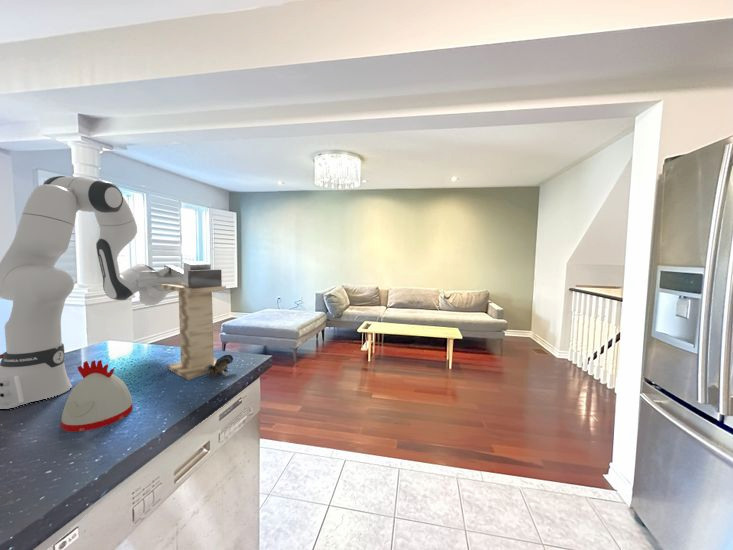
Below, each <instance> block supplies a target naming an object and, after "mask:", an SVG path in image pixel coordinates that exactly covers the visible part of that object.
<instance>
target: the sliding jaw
mask: <svg viewBox="0 0 733 550" xmlns="http://www.w3.org/2000/svg"><path fill="white" fill-rule="evenodd" d="M211 266H212V264H211V263H209V262H206V261H183V269H182V268H181V269H179V268H178V267H179V266H175V265H173V264H164V268H165V267H169V268H170V272H169V274H171V275H173V276H175V277H177V278H179V279H182V280H183V284H184V285H186V286H188V270H212V269H211V268H212V267H211ZM164 268H163V269H164Z"/></svg>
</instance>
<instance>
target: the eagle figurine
mask: <svg viewBox="0 0 733 550" xmlns="http://www.w3.org/2000/svg"><path fill="white" fill-rule="evenodd" d="M216 359H217V361H216V363H215V366H213V365H211V364H210V365H207V366H206V367H205V371H211V370H212V372H211V373H208V374H209V375H212V377H211V378H212V380H214V379H215V378H216V377H217V374H221V375H222V374H223V375H224V376H226V375H227V374H226V371H228V369H227V368H223V367H224V366H226V365H227V366H228V365H230V364H232V363H233V361H234V357H233V356H232V355H231V354H225V355H222V356H221V357H219V358H216Z"/></svg>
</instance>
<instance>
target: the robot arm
mask: <svg viewBox="0 0 733 550" xmlns="http://www.w3.org/2000/svg"><path fill="white" fill-rule="evenodd" d="M78 211H81V212H87V213H88V212H89V213H94V216H95V219H96V221H97V223H98V226H99V227H98V228H99V237H98V240H97V241H96V243H95V245H96V246H95V247H96V253H97V259H98V263H99V266H100V271H101V275H102V276H101V277H102V288H103V291H104V293H105V294H106V296H107V297H108V298H110V299H111V300H115V301H126V300H127V299H129V298H130V297H132V296H133V295H135V294H136V293H137V292H138V293H139V297H138V299H139V301H140V303H141V304H143V305H145V306H155V305H158V304H159V303H161V302H162V301H163V300H164V299H166V297H167V296H168V294H171V293H173V292H175V291H173V290H168V289H163V288H160V284H170V283H183V280H182V279H179V278H177V277H175V276H173V275H171V274H169V272H170V268H169V267H165V268H163V269H159V270H155V269H154V268H153V267H151V266H149V265H147V264H143V263H137V264H136V265H133V266H131V267H130V268H128V269H126V270H124V271H122V272H120V268H119V263H118V256H119V254H120V253H121V251H122V250H123V249H124V248H125V247H126V246H127V245H128V244H130V243H131V242H132V241H133V240H134V239H135V237H136V235H137V234H138V227H137V223H136V220H135V218H134V214H133V212H132V209H131V208H130V206H129V204H128V202H127V200H126V199H125V197H124V196H123V193H122V191H121V190H120V188H119V187H118V186H117V185H115V184H114V183H112V182H109V181H106V180H103V179H102V180H101V179H93V178H86V177H82V176H66V175H65V176H64V175H59V176H52V177H48V178H47V179H46V180H45V181H44V182H43V184H40V185H38V186H36V187H35V188H34V189H33V190H32V191H31V193H30V195H29V197H28V198H27V201H26V203H25V205H24V207H23V210H22V214H21V216H20V219H19V223H18V226H17V229H16V232H15V234H14V238H13V240H12V242H11V244H10V246H9V247H8V250H7V251H6V253H4V255H3V257H2V259H1V260H0V298H1V299H4V300H7V301H12V308H11V312H10V314H9V315H10V316H9V319H8V321H6V322H5V324H4V335H5V348H6V351H5V352H3V353H1V354H0V359H1V360H0V407H2V408H11V407H15V406H18V405H22V404H24V403H29V402H33V401H38V400H42V399H46V400H48V399H47V398H49V399H51V398H50V397H52V398H54V396H55V397H57V395H58V396H60V395H63V394H65V393H67V392H68V391H70V390H71V389H72V387H73V385H72V383H71V381H70V379H69V377H68V374H67V370H66V366H65V362H64V361H65V346H64V344H65V343H63V342H62V323H61V322H62V314H63V310H64V306H65V302H66V300H67V298H68V296H70V295H71V293H72V292H73V290H74V287H75V286H74V285H75V284H74V283H75V282H74V279H73V278H72V276H71V275H70V274H69V273H68V272H66V271H65V270H62V269H60V268H58V267H55V266H56V264H57V261H58V260H59V259H60V257H61V256H62V255H63V254H65V253H66V252H67V250H68V249H69V245H70V242H71V238H72V234H73V231H74V226H75V223H76V219H77V213H78ZM177 267H178V268H179V269H182V268H181V266H177ZM70 388H71V389H70Z"/></svg>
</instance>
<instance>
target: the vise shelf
mask: <svg viewBox="0 0 733 550" xmlns="http://www.w3.org/2000/svg"><path fill="white" fill-rule="evenodd" d="M222 281H223V280H222V269H219V268H218V269H211V270H188V286H186V285H184V284H183V283H170V284H160V288H163V289H168V290H173V291H174V292H178V315H179V317H178V318H179V342H180V343H179V345H180V361H177V362H174V363H170V364H167V365H166V366H167V370H168V369H169V370H168V371H170V370H171V371H170V372H172V371H173V372H172V373H174V372H175V373H174V374H175V375H177V376H180V377H181V376H182V378H183V377H184V378H183V379H185V380H187V381H189V380H192V379H196V378H198V376H199V377H201V375H202V376H204V374H205V375H207V373H208V374H209V373H210V372H211V373H212V370H211V371H205V367H206V366H207V365H210V364H211V365H213V366H215V363H216V361H217V359H218V358H214V355H215V354H214V324H213V323H214V320H213V318H214V315H213V314H214V313H213V292H221V291H223V292H224V291H226V290H227V286H226V285H222V284H223V283H222ZM226 367H227V368H228V365H226V366H224V367H223V368H224V369H227V368H226ZM195 377H196V378H195Z"/></svg>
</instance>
